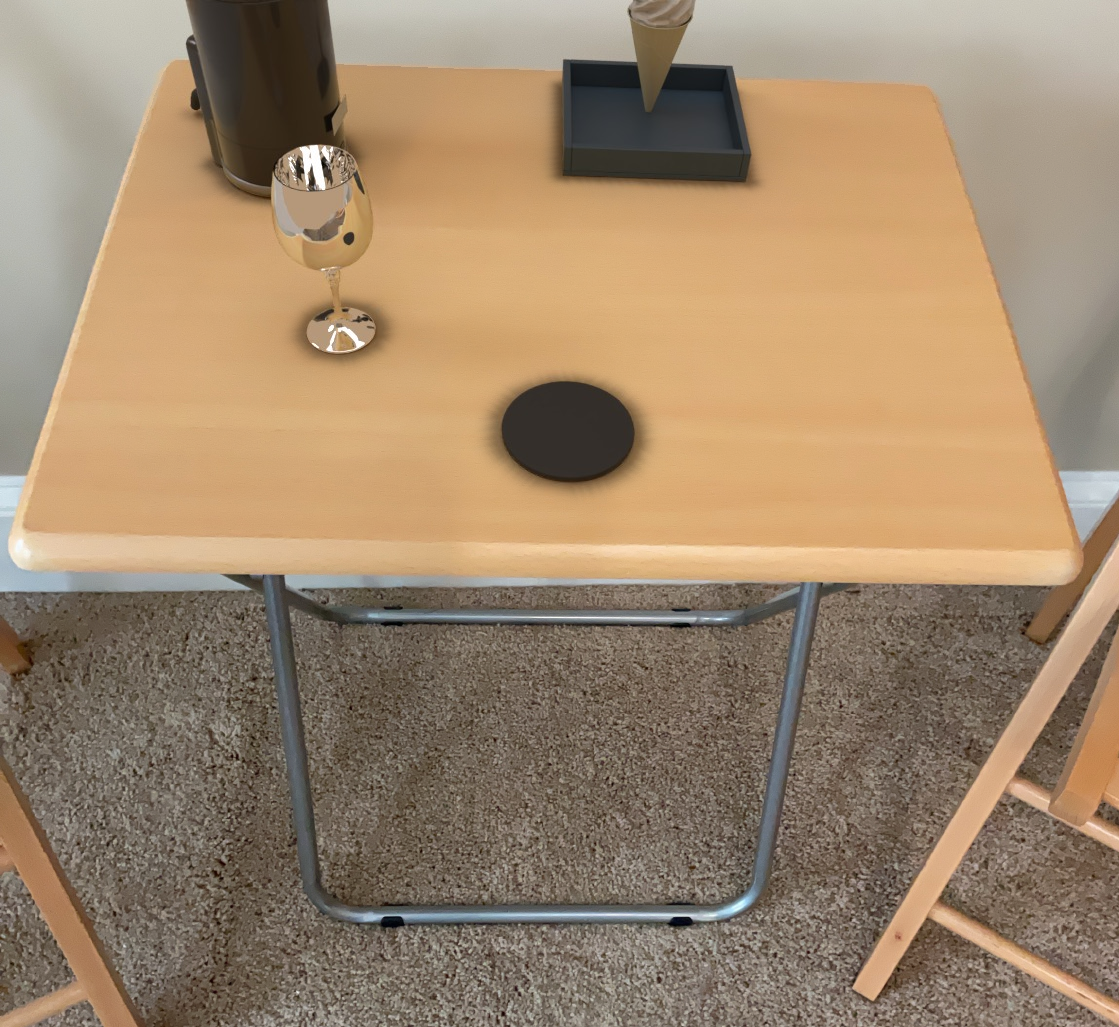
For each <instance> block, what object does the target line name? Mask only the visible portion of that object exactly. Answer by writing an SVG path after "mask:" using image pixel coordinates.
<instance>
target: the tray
mask: <svg viewBox="0 0 1119 1027" xmlns="http://www.w3.org/2000/svg"><path fill="white" fill-rule="evenodd" d="M561 71H562V72H561V74H562V75H561V139H562V141H561V142H562V144H561V146H562V176H573V177H575V176H576V177H603V178H605V177H606V178H631V179H632V178H633V179H634V178H636V179H660V180H661V179H662V180H687V181H689V180H690V181H691V180H692V181H719V182H743V183H744V182H747V177H748V174H749V173H748V172H749V168H750V164H751V160H752V150H751V145H750V140H749V137H748V136H749V135H748V131H747V126H746V122H745V118H744V113H743V107H742V104H741V103H742V102H741V99H740V95H739V94H740V93H739V90H738V85H737V81H736V75H735V71H734V65H725V64H724V65H723V64H701V63H699V64H698V63H677V62H676V63H673V62H672V64H671V66H670V69H669V71H668V74H667V76H666V78H665V81H664V83H663V85H662V88H661V90H660V92H659V95H658V97H657V99H656V102H655V104H654V106H653V109H652V111H651V112H650V113H648V112H646V111H645V106H644V100H643V94H642V88H641V82H640V76H639V70H638V64H637V61H626V60H625V61H624V60H623V61H622V60H621V61H620V60H600V59H599V60H598V59H597V60H596V59H574V58H572V59H569V58H568V59H567V58H563V59H562V70H561Z"/></svg>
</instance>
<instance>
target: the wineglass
mask: <svg viewBox="0 0 1119 1027" xmlns="http://www.w3.org/2000/svg"><path fill="white" fill-rule="evenodd" d="M371 203H372V202H371V199H370V194H369V191H368V189H367V186H366V183H365V181H364V178H363V175H362V173H361V171H360V168H359V165H358V163H357V161H356V159H355V157H354V156H353V155H352V154H350V152H349V151H348V152H347V151H345V150H342V149H340V148H337V147H333V146H328V145H308V146H302V147H298V148H295V149H292V150H290V151H288V152H286V153H285V154H283V155H282V156H281V157H279V158H278V160H277V161H276V162H275V164H274V168H273V175H272V186H271V197H270V204H271V205H270V208H271V220H272V224H273V230H274V233H275V236H276V239H277V241H278V243H279V245H280V247H281V248H282V250H283V252H284V253H285V254H286V255H287V256H288V257H289V258H290V259H291V260H292V261H293V262H295V263H296V264H297V265H299V266H302V267H303V268H306V269H308V270H312V271H317V272H323V278H324V280H325V283H327V285H328V288H329V290H330V293H331V297H332V304H333V307H332V308H329V309H326V310H323V311H322V312H319V313H317V314H316V315H315V316H313V318H312V319H311V320H310V321H309V322H308V324H307V327H306V330H305V332H306V338H307V340H308V342H309V343H310V344H311V345H312V346H313V347H314V348H316V349H317V350H319V351H321V352H324V353H328V354H332V355H333V354H335V355H342V354H343V355H344V354H349V353H353V352H356V351H359V350H361V349H363V348H365V347H366V346H367V345H368V344H369V343H370V342H371V341H372V340H373V339H374V338H375V336H376V330H377V328H376V323H375V321H374V319H373V318H372V316H371V315H369V314H368V313H367V312H365V311H364V310H361V309H359V308H355V307H348V306H342V303H341V297H340V282H341V275H342V274H341V270H343V269H345V268H347V267H349V266H351V265H353V264H355V263H356V262H357V261H359V260H360V259H361V258H362V257H363V256H364V255H365V253H366V252H367V250H368V248H369V246H370V244H371V242H372V239H373V234H374V213H373V207H372V204H371Z"/></svg>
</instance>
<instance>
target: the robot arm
mask: <svg viewBox="0 0 1119 1027" xmlns="http://www.w3.org/2000/svg"><path fill="white" fill-rule="evenodd" d="M185 4H186V5H185V6H186V8H187V13H188V18H189V21H190V26H191V30H192V34H190V35H189V36H188V37H187V39H186V41H185V48H186V53H187V57H188V60H189V65H190V68H191V73H192V77H193V82H194V85H195V86H194V87H195V88H193V90H192V91H191V93H190V104H189V106H190V108H191V110H193V111H199V110H200V109H201V114H202V118H203V123H204V126H205V129H206V130H205V131H206V136H207V139H208V142H209V148H210V151H211V155H212V159H213V163H214V164H216V165H219V166H221V167H222V169H223V172H224V175H225V177H226V178H227V180H228V181H229V182H230V183H231V184H232V185H234V187H237V188H238V189H240V190H242V191H244V192H246V193H248V194H249V193H250V194H252V195H257V196H261V197H267V198H271V186H272V175H273V168H274V164H275V162H276V161H277V160H278V158H279V157H281V156H282V155H283V154H285V153H286V152H288V151H290V150H292V149H295V148H298V147H302V146H308V145H328V146H333V147H337V148H340V149H342V150H345V151H347V152H348V153H349V146H348V143H347V140H346V134H345V133H346V132H345V125H344V119H345V118H346V115H347V114H348V111H349V110H348V101H347V96H346V95H347V94H344V96H343V98H342V99H341V93H340V85H339V77H338V70H337V62H336V54H335V47H334V39H333V38H334V37H333V31H332V23H331V15H330V8H329V0H185Z"/></svg>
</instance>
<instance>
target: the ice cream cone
mask: <svg viewBox="0 0 1119 1027" xmlns="http://www.w3.org/2000/svg"><path fill="white" fill-rule="evenodd" d="M695 6H696V0H632V2H630V4H629V5H628V7H627V10H626V12H627V13H626V14H627V16H628V18H629V21H630V28H631V35H632V40H633V46H634V53H635V58H636V62H637V64H638V70H639V76H640V82H641V88H642V94H643V100H644V106H645V111H646V112H648V113H650V112H651V111H652V109H653V106H654V104H655V102H656V99H657V97H658V95H659V92H660V90H661V88H662V85H663V83H664V81H665V78H666V76H667V74H668V71H669V69H670V66H671V64H672V63H673V61H674V59H675V57H676V55H677V52H678V49H679V47H680V45H681V42H682V40H683V38H684V36H685V33H686V30H687V29H688V26H689V24H691V22H692V20H693V18H694V13H695Z"/></svg>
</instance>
